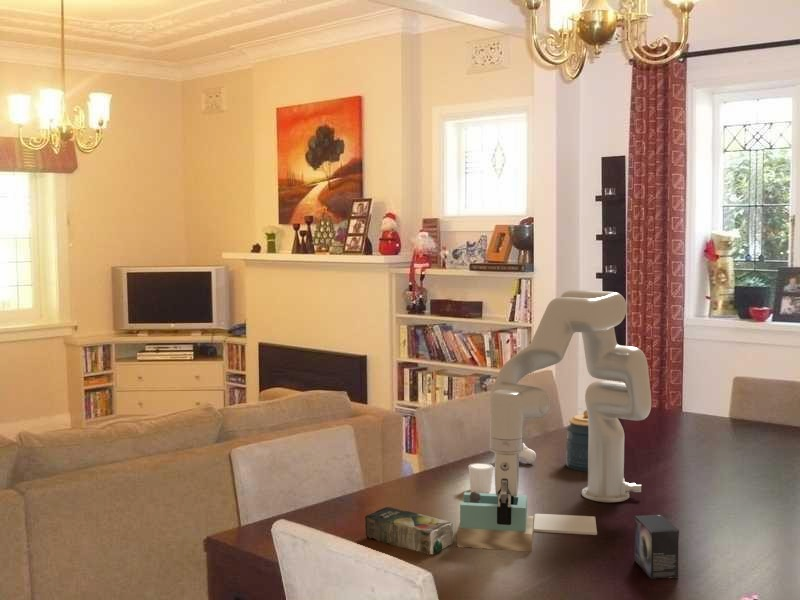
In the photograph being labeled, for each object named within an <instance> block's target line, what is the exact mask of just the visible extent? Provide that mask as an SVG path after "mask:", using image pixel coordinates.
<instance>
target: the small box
mask: <svg viewBox="0 0 800 600" xmlns="http://www.w3.org/2000/svg"><path fill="white" fill-rule="evenodd" d="M679 538H680V530H679V529H678V528H677V527H676V526H675V525H673V523H671V522H670V521H669V520H668V519H667V518H665V517H664V516H663V515H662V514H649V515H647V514H646V515H634V561H636V562H635V563H636V565H638V566H639V567H640V568H641V569H642V571H643V572H644V573H645V574H646V575H647V577H649V579H650V578H651V580H659V579H658V578H668V579H670V578H669V577H679V576H680V574H679ZM656 578H657V579H656Z"/></svg>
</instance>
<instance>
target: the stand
mask: <svg viewBox="0 0 800 600" xmlns="http://www.w3.org/2000/svg"><path fill="white" fill-rule="evenodd" d="M470 493H471V494H470V503H480V498H481V496H480V494H479V493H478V492H476V491H474V492H472V491H471V492H470ZM534 518H535V515H527V523H526V532H523V531H504V530H486V529H467V528H460V522H459V524H458V527H457V530H456V532H457V533H456V536H457V537H456V538H457V539H456V544H457V545H456V546H458V547H457V548H464V547H472V548H471V549H482V548H487V549H486V550H499V549H502V551H503V550H504V551H518V552H519V551H520V552H521V551H522V552H533V541H534V532H533V531H534Z"/></svg>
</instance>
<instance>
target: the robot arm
mask: <svg viewBox="0 0 800 600" xmlns="http://www.w3.org/2000/svg"><path fill="white" fill-rule="evenodd" d="M627 308H628V307H627V301H626V299H625V298H624V296H623V295H622V294H620V293H619V292H616V291H615V292H614V291H603V290H588V289H587V290H586V289H569V290H567V291H564V292H563V293H562V294H561V295H560V297H555V298H553V299H552V300H550V301H549V303H548V304H547V306H546V308H545V309H544V310H545V311H544V313H543V315H542V317H541V320H540V322H539V324H538V326H537V328H536V331H535V333H534V335H533V337H532V340H531V342H530V344H529V345H527V346H526V347H524V348H523V349H521V350H520V351H518V352H516V354H515V355H513V356H512V357H511V358H510V359H508V360H507V361H506V362H505V363H504V364H503V365H502V367H501V368H500V370H499V372H498V373H497V375H496V378H495V381H494V383H493V385H492V388H491V390H490V396H489V404H490V405H489V451H490V452H492V453H494V489H495V494H496V495H497V496H498V506H497V524H500V525H511V510H512V507H510V505H514V497H516V496H517V495H519V488H520V487H519V486H520V485H519V484H520V483H519V481H520V480H519V474H520V473H519V471H520V467H519V466H520V465H519V462H520V461H519V459H520V458H519V457H518V453H521V452H523V443H524V421H526V420H538V419H540V418H543V417H544V416H545V415H547V413H548V412H549V410H550V408H551V397H550V395H549V393H548V392H547V391H546V390H545V389H543V388H541V387H538V386H532V385H525V384H520V383H519V382H520V381H521V380H522V379H523V378H524V377H526V376H528V375H529V374H531V373H533V372H536V371H539V370H543V369H545V368H548V367H551V366H554V365H557V364H559V363H560V362H562V360H563V359H564V357H565V353H566V352H567V349H568V348H569V344H570V342H571V340H572V338H573V335H574V334H575V333H581V335H582V342H583V350H584V358H585V365H586V369H587V373H588V374H589V376H591V377H592V378H595V379H598V380H596V381H594V382H591V383H590V384H589V385H588V386H587V388H586V390H585V394H584V401H585V407H586V410H587V414H588V430H589V433H588V471H587V486H585V487H584V488H582V489H581V495H582V497H584V498H585V499H588V500H590V501H593V502H594V501H595V502H600V503H622V502H625V501H626V500H628V499H629V498H630V492H633V493H641V492H642V484H636V483H635V482H631V483H629V482H627V481H625V477H624V475H625V473H624V472H625V432H624V428H623V426H622V423H621V421H620V420H619V419H621V420H629V421H637V422H638V421H643V420H645V419H646V418H648V417H649V415H650V413H651V410H652V391H651V384H650V381H651V380H650V374H649V366H648V360H647V356H646V355H645V353H644V352H643V350H642V349H640V348H638V347H635V346H631V345H630V346H629V345H621V344H618V342H617V337H616V331H615V327H617V326H618V325H620V324H621V323H622V322H623V320H624V319H625V317H626V315H627V310H628V309H627ZM518 383H519V384H518Z"/></svg>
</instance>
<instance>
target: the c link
mask: <svg viewBox="0 0 800 600" xmlns="http://www.w3.org/2000/svg"><path fill="white" fill-rule="evenodd" d="M471 493H472V492H465V491H464V492H463V502H462V501H461V502H460V504H459V514H460V515H459V523H460V528H467V529H486V530H504V531H523V532H526V523H527V516H528V495H527V494H518V495H517V496H516V497H514V505H510V507H512V510H511V525H500V524H497V506H498V496H497V495H496V493H490V492H488V493H479V494H480V496H481V498H480V503H470V494H471Z"/></svg>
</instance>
